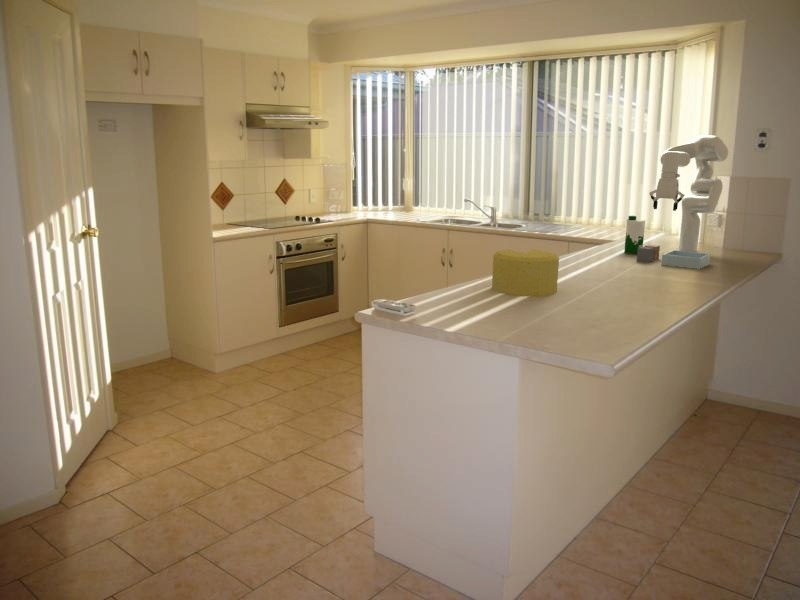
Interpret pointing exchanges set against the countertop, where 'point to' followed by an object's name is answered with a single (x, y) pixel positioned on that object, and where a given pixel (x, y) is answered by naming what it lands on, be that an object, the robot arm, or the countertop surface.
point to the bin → (685, 259)
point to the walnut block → (654, 251)
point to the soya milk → (634, 235)
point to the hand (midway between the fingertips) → (664, 209)
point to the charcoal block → (645, 254)
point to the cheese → (525, 273)
